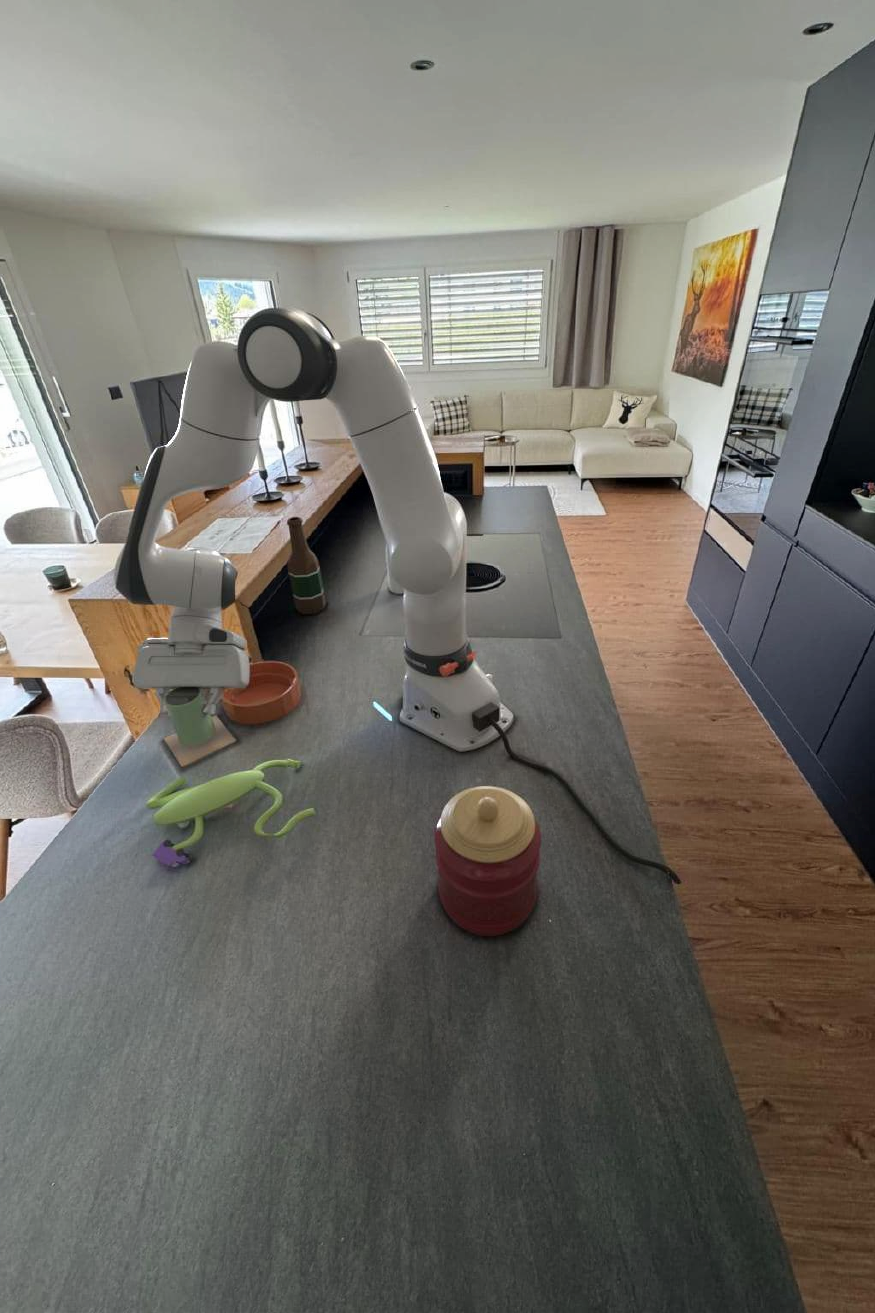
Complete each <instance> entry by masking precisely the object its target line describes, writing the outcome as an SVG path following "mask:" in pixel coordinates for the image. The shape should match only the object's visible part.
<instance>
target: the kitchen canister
mask: <svg viewBox="0 0 875 1313" xmlns="http://www.w3.org/2000/svg"><path fill="white" fill-rule="evenodd" d="M434 845H435V860H436V865H437V869H438V878H437V886H438V889H437V890H438V895H439V899H440V901H441V904H442V907H443V909H444V910H445V912H446V914H447V916H448V917H449V919H450V920H451V921H453V923H455V925H457V926H458V927H460V929H463V930H464V931H466V932H468V933H471V934H473V935H478V936H482V937H496V936H503V935H505V934H508V933H511V932H512V931H514V930H516V929H517V928H519V927H520V926H522V925H523V924H524V923H525V921H526V920H527V919H528V917H529V916H530V914H531V912H532V910H533V909H534V906H535V903H536V901H537V895H538V880H537V879H538V878H537V877H538V870H539V866H540V861H541V860H540V859H541V857H540V856H541V855H540V850H541V847H542V833H541V829H540V826H539V824H538V822H537V820H536V818H535V816H534V813H533V810H532V809H531V807H530V806H529V804H528V803H527V802H526V801H525V800H524V799H523V798H521V797H520V796H519V795H518V794H516V793H514V792H513V791H510V790H508V789H506V788H502V787H498V786H493V785H492V786H490V785H480V786H475V787H470V788H467V789H465V790H462V791H460V792H458V793H457V794H455V795H454V796H453V797H452V798H451V799H449V800H448V801H447V803H446V804H445V806H444V808H443V810H442V812H441V814H440V816H439V818H438V820H437V822H436V825H435V828H434Z"/></svg>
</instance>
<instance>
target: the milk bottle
mask: <svg viewBox="0 0 875 1313" xmlns="http://www.w3.org/2000/svg"><path fill="white" fill-rule="evenodd" d="M385 560H386V569H387V582H388V588H389V590H390V592H392V593H394V594H397V595H399V594H400V595H403V593H404V588H403V587H401V586H400V585H399V584H398V583H397V581H396V580H395V579H394V577H393V575H392V572H391V568H390V559H389V553H388V549H387V545H385Z"/></svg>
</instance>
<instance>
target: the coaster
mask: <svg viewBox="0 0 875 1313" xmlns="http://www.w3.org/2000/svg"><path fill="white" fill-rule="evenodd" d="M211 717H212V720H213V723H214V726H215V729H216V730H215V734H214V735H213V737H212V738H211V739H209V740H208V741H207V742H205V743H203V744H200V745H196V746H185V745H182V744H181V743H180V742H179V740H178V737H177V735H176V732H175V733H173V734H170V735H168V736H167V737H163V740H164V742H165V744H166V745H167V747H168V748H169V750H170V751H171V753H172V754H173V756H174V757H175V759H176V761H177V762H178V764H179V765H180V767H181V768H183V767H186V766H187V765H190V764H192V763H194V762H196V761H198V760H200V759H202V758H204V757H206V756H208V755H210V754H213V753H214V752H216V751H219V750H221V749H223V748H225V747H226V746H229V745H231V744H233V743H235V742H237V739H236V738H235V737H234V736H233V734H232V733H231V732H230V731H229V729H228V728H227V727H226V725H225V724H224V723H223V721H221V720H220V718H219V717H218V716H217V715H216V714H214V715H213V716H211Z"/></svg>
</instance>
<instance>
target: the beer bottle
mask: <svg viewBox="0 0 875 1313" xmlns="http://www.w3.org/2000/svg"><path fill="white" fill-rule="evenodd" d="M303 523H304V520H303V519H302V518H301V517H299V516H292V517H289V518H287V521H286V525H287V526H288V530H289V538H290V539H289V540H290V547H291V548H290V549H291V550H290V551H291V553H290V555H289V557H288V561H287V572H288V578H289V583H290V586H291V592H292V596H293V601H294V605H295V609H296V611H297V612H298V613H300V614H302V615H315V614H318V613H320V612H323V611H325V610H324V609H325V607H326V596H325V590H324V585H323V579H322V572H321V568H320V567H321V566H320V563H319V559H318V558H317V556H316V554H315V553H314V552H313V551H312V550H311V549H310V548H309V544H308V542H307V538H306V534H305V529H304V526H303Z"/></svg>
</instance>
